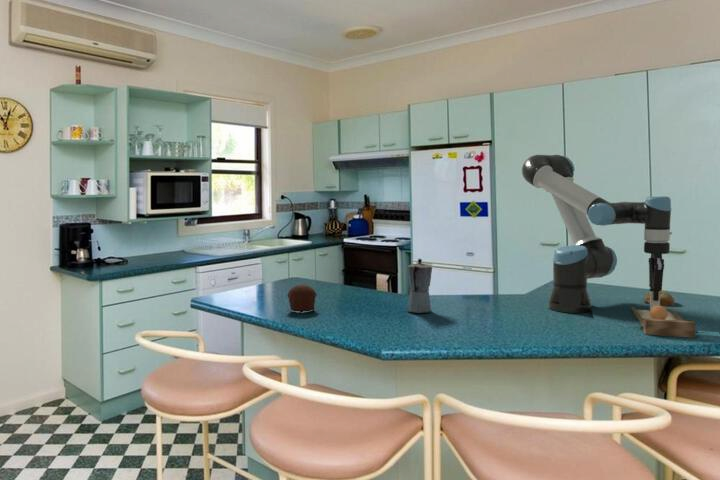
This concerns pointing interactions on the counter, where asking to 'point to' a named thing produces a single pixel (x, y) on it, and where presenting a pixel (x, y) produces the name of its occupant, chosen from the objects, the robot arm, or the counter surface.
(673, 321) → the lane
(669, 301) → the bread roll
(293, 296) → the muffin
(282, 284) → the counter surface
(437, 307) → the counter surface
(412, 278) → the moka pot
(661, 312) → the ball
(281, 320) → the counter surface
